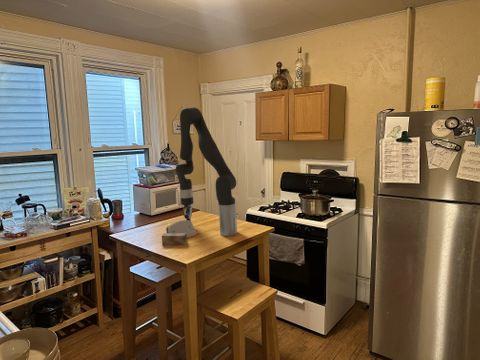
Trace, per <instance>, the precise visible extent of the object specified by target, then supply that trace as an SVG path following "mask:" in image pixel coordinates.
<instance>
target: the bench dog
mask: <svg viewBox="0 0 480 360" xmlns="http://www.w3.org/2000/svg"><path fill="white" fill-rule="evenodd" d="M161 243H162V246H186V244H187V243H188V237H187V234H186V233H165V232H164V233H163V234H162V235H161Z"/></svg>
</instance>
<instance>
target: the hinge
mask: <svg viewBox="0 0 480 360" xmlns="http://www.w3.org/2000/svg"><path fill="white" fill-rule="evenodd" d="M165 232H166V233H186V234H187V238H190V237H194V236H195V235H198V232H197V231H196V230H195V227H194V225H193V222H192V221H189V220H186V219H184V220H183V219H182V220H178V221H175V222H172V223H171V224H168V226H166V227H165Z"/></svg>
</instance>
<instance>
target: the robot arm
mask: <svg viewBox="0 0 480 360" xmlns="http://www.w3.org/2000/svg"><path fill="white" fill-rule="evenodd" d="M192 125H193V126H194V128H195V130H196V132H197V136H198V137H197V138H198V141H197V142H198V148H199V150H200V153H201V154H202V157H203V158H204V159H205V160H206V162H207V163H208V164H209V165H210V166H212V167H213V168H214V169H215V171H216V173H217V174H218V177H217V178H216V180H215V194H216V200H217V202H218V218H219V235H221V236H223V237H232V236H236V235H237V233H238V221H237V215H236V214H237V213H236V212H237V211H236V199H235V197H233V194H232V190H234V189H235V188H236V187H237V179H236V177H235V175H234V174H233V173H232V171H231V169H230V168H229V167H228V165H227V163H226V161H225V159H224V158H223V156H222V153H221V152H220V150H219V147H218V145H217V144H216V142H215V140H214V138H213V137H212V133H211V132H210V130H209V128H208V126H207V124H206V121H205V118H204V116H203V114H202V112H201V110H200V109H199V108H197V107H195V106H194V107H184V108H182V110H181V111H180V114H179V126H180V127H179V128H180V148H179V149H180V150H179V158H180V160H182V161H185V162H182V163H177V164H176V166H175V175H176V176H177V180H178V182H179V197H180V205H181V206H183V211H182V214H183V217H184V220H189V221H191V218H192V215H193V206H192V205H194V203H195V202H194V192H193V186H192V185H193V184H192V180H191V179H190V178H187V177H186V175H191V174H192V173H193V172H194V169H195V168H194V161H193V153H194V152H193V150H194V143H193V140H192V137H191V126H192ZM191 222H192V221H191Z"/></svg>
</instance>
